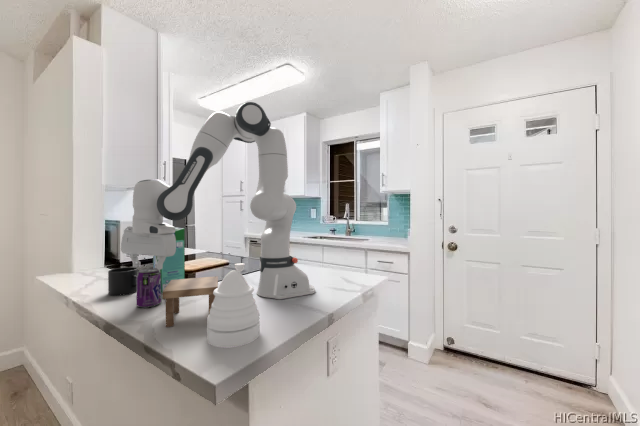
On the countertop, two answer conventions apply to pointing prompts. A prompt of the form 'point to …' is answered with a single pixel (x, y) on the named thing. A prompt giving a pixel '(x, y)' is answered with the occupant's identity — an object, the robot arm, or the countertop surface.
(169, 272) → the milk carton
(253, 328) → the honey pot
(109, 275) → the mug
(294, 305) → the countertop surface
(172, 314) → the walnut stool
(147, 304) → the beverage can
